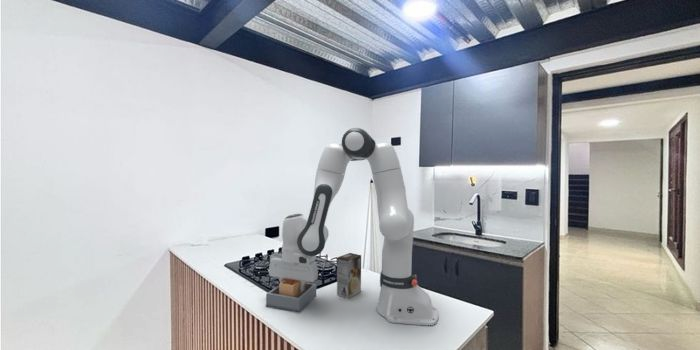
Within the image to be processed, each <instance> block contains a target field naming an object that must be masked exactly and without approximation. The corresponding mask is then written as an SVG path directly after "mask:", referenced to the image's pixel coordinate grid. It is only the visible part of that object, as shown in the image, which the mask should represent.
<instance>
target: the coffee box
mask: <svg viewBox="0 0 700 350" xmlns="http://www.w3.org/2000/svg"><path fill="white" fill-rule="evenodd" d="M336 259H337V260H336V261H337V262H336V264H337V265H336V295H337V296H339V297H342V298H344V299H351V298H352V297H354V296H356V295H357V294H360V292H361V291H362V255H361V254H358V253H352V252H349V253H345V254H344V255H340V256H337V258H336Z"/></svg>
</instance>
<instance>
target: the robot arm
mask: <svg viewBox="0 0 700 350" xmlns="http://www.w3.org/2000/svg"><path fill="white" fill-rule="evenodd" d="M365 160H366V161H367V162H368V164H369V166H370V169H371V176H372V180H373V185H374V189H375V195H376V203H377V215H378V223H379V227H378V228H379V232H380V233H381V235H382V236H383V237H384V238H383V245H382V249H381V270H380V271H381V272H380V274H379V287H380V291H379V297H378V301H377V305H376V311H377V313H378V314H379V315H380V316H383V317H384V318H385V319H386V320H387V321H388V322H389V323H391V324H392V323H393V324H404V325H405V324H406V325H417V326H428V325H429V326H430V325H431V326H432V327H433V326H434V324H435V325H436V324H437V323H438V321H439V312H438V309H437V308H436V306H434V305H433V304H432V300H431V296H430V295H429V294H428V292H426V291H425V290H424V289H423V288H422V287H421V286H419V285H418V277H417V274H413V273H412V265H413V264H412V259H413V258H412V256H413V243H414V229H415V227H414V226H415V225H414V224H415V218H414V214H413V212H412V210H411V209H410V208H409V207H408V200H407V192H406V186H405V182H404V181H405V180H404V176H403V172H402V167H401V164H400V163H401V162H400V159H399V157H398V155H397V152H396V150H395V147H394V146H393V144H391V143H389V142H383V141H382V142H376V140H375V139H374V138H373V137H372V136H371V135H370V134H369V133H368V132H367V131H366V130H364V129H362V128H360V127H353V128H350V129H348V130H346V132H344V134H343V136H342V137H341V143H335V142H334V143H328V144H327V145H325V147H324V149H323V151H322V153H321V155H320V159H319V161H318V165H317V168H316V174H315V179H314V189H313V190H314V191H313V198H312V202H311V207H310V209H309V214H308V217H306V216H305V215H304V214H303V213H295V214H291V215H290V214H289V215H288V216H286V217H285V218H284V219H283V221H282V229H281V231H282V232H281V238H282V239H281V240H282V247H281V253H277V252H273V253H272V254H271V255H270V256H269V258H270V259H269V267H268V274H269V276H270V277H273V278H278V281H279V284H280V283H281V282H282V281H284V280H285V279H292V280H299V281H301V283H302V285H301V286H299V287H298V289H299V290H298V291H300V292H302V291H303V290H304V285H305V283H314V282H315V281H316V280H318V278H319V274H318V273H319V269H318V263H317V262H316V258H317V256H318V255H320V254H321V253H322V252H323V250H324V249H325V245H326V242H327V241H328V238H329V229H328V227H327V226H326V225H325V224H326V220H327V216H328V212H329V209H330V206H331V203H332V202H333V200H334V198H335V197H336V196H337V194H338V193H339V191H340V189H341V187H342V185H343V182H344V178H345V175H346V171H347V167H348V164H349V163H350V162H355V161H356V162H357V161H365ZM429 326H428V327H429ZM431 326H430V327H431Z"/></svg>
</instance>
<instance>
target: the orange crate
mask: <svg viewBox="0 0 700 350" xmlns="http://www.w3.org/2000/svg"><path fill="white" fill-rule="evenodd" d="M278 285H279V295H284V296H290V297H296V298H298V297H299V296H300V295H301V294H302V293H303V292H305V285H304V290H303V291H302V292H300V291H298V290H299V289H298V287H299V286H301V285H302V283H301V281H299V280H292V279H284V281H282V282H281V283H280V282H279V284H278Z"/></svg>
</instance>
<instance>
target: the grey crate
mask: <svg viewBox="0 0 700 350" xmlns="http://www.w3.org/2000/svg"><path fill="white" fill-rule="evenodd" d="M265 294H266V295H265V301H266V302H265V307H266V308H272V309H276V310H282V311H287V312H290V313H291V312H292V313H297V314H300V313H301V312H302V311H303V310H304V309H305V308H306V307H307V306H308V305H309V304H311V302H312V301H313V300H314V299H315V298H316V297H317V283H314V282H306V283H305V292H303V293H302V294H301V295H300V296H299V297H298V298H296V297H290V296H284V295H279V284H278V285H276V286H275V287H273V289H271V290H269V291H268V292H267V293H265Z"/></svg>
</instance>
